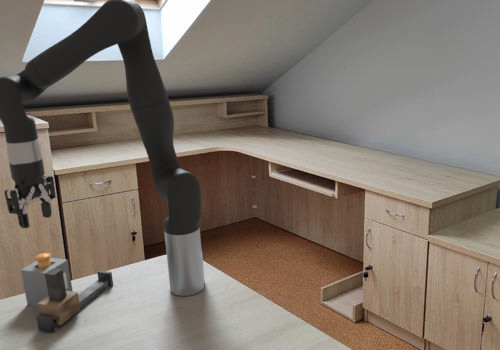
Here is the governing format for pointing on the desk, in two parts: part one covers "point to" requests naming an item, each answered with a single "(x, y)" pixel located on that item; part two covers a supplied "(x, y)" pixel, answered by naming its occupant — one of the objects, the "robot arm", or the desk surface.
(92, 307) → the desk surface
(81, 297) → the rail
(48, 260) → the button
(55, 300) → the carriage
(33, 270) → the button housing
